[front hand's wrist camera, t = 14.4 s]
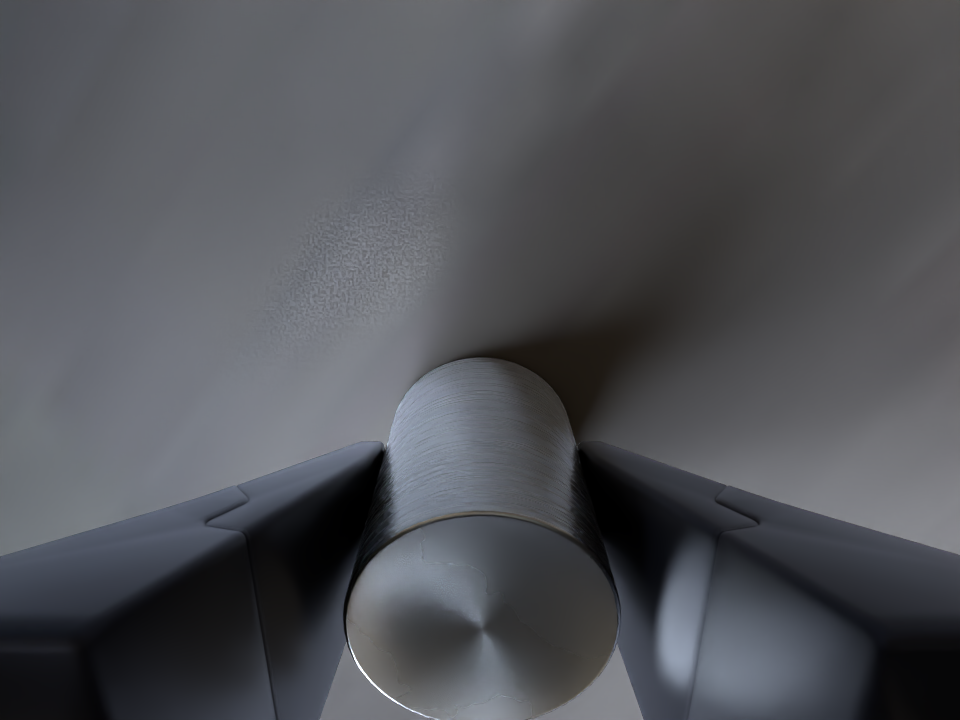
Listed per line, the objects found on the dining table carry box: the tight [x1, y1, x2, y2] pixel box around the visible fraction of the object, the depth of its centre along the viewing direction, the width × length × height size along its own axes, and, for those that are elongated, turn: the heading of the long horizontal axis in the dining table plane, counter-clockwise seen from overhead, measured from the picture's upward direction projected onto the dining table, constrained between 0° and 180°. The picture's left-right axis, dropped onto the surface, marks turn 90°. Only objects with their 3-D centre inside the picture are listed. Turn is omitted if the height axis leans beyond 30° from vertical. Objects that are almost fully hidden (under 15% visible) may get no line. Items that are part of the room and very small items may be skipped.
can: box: [343, 357, 621, 720], centre depth 10 cm, size 4×4×5 cm
